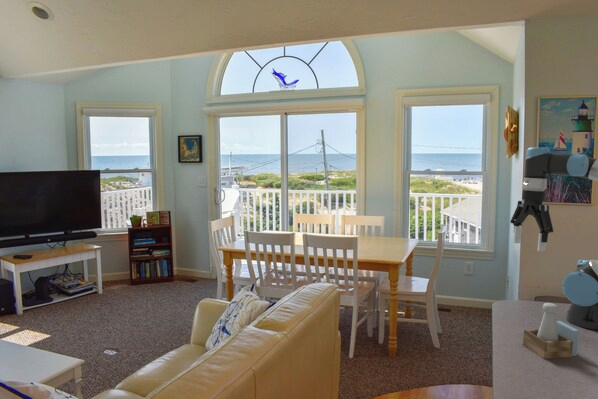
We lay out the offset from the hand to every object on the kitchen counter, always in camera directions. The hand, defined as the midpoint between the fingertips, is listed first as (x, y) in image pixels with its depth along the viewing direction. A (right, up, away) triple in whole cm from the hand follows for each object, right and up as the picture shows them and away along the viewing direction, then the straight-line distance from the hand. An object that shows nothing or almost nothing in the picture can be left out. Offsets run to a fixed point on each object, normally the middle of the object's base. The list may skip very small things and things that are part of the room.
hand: (528, 246), depth 169 cm
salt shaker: (-8, -28, -27) cm, 40 cm away
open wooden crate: (-8, -30, -27) cm, 41 cm away
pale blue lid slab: (-2, -30, -26) cm, 40 cm away
